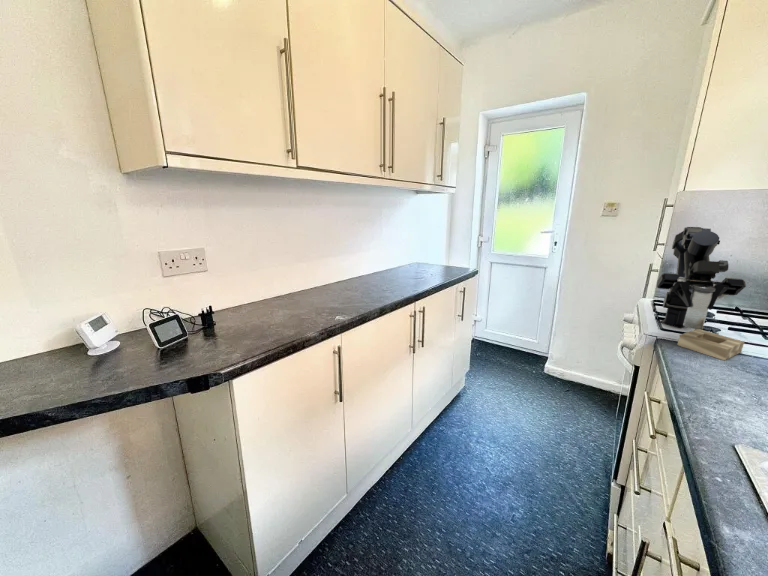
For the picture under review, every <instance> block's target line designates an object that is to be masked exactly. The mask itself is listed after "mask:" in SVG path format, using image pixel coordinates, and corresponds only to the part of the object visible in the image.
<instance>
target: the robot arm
mask: <svg viewBox="0 0 768 576" xmlns="http://www.w3.org/2000/svg"><path fill="white" fill-rule="evenodd" d="M720 243H721V240H720V236H719V234H718V233H716V232H714V231H712V229H711V228H704V227H700V226H686V227H684V228H683V231H681V232H679V233H677V234H675V236H674V239H673V242H672V244H671V245H672V246H671V249H672V250H673V256H674V257H676V259H677V267H676V273H669V272H663V273H662V274H661V275H660V276H659V278H658V280H657V281H656V288H658V289H662V290H668V291H666V293H665V296H664V298H663V303H662V307H663V308H664V309H666V313H665V317H664V319H661V320H659V323H661V324H664V325H669V326H671V327H674V328H678V329H682V328H686V327H685V326H684V325H683V323H684V319H685V316H686V312H687V308H688V307H690V306H691V294H692V290H693V289H692V285H693V284H703V285H709V286H714V287H716V290H715V292H713V295H712V298H711V302H710V305H709V309H708V311H709V310H710V311H711V310H713V308H714V306H715V303H716V301H717V299H718V297H721V296H722V295H723V296H737V295H738V294H740V292H742V291H743V290H744V289H745V288H747V287H746V281H745V280H744V279H742V278H737V277H736V278H735V277H725V278H724V279H723V280H722V281H715V280H714V279H715V278H716V276H717V275H716V274H720V273H725V272H726V273H727V272H728V270H729V265H730V264H729V261H728V260H718V261H715V260H714V261H713V260H712V261H711V260H710V256H711V255H712V253H714V250H715V249H716V247H717V246H719V245H720ZM712 279H713V280H712Z"/></svg>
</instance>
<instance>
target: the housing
mask: <svg viewBox="0 0 768 576" xmlns="http://www.w3.org/2000/svg"><path fill="white" fill-rule="evenodd" d="M676 345H677V346H679V347H682V348H684V349H687V350H691V351H694V352H696V353H697V352H698V353H701V354H703V355H706V356H710V357H712V358H713V357H714V358H716V359H718V360H722V361H726V360H729V359H731V358H732V357H734V356H736V355H739V354H740V353H742V350H743V348H744V345H745V341H743V340H739V339H736V338H733V337H729V336H725V335H722V334H718V333H714V332H711V331H707V330H703V329H692V330H690V331H687V332H684V333H682V334H679V337H678V341H677V344H676Z"/></svg>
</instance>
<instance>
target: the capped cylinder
mask: <svg viewBox="0 0 768 576" xmlns="http://www.w3.org/2000/svg"><path fill="white" fill-rule="evenodd" d="M692 289H693V290H692V294H691V306H690V307H688V308H687V312H686V316H685V319H684V323H683V325H684V326H685V327H684V328H688V329H692V330H695V329H700V330H703V329H704V325H705V321H706V318H707V316H708V312H709V305H710V302H711V298H712V295H713V292H715V290H716V287H714V286H709V285H703V284H693V285H692Z"/></svg>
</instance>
